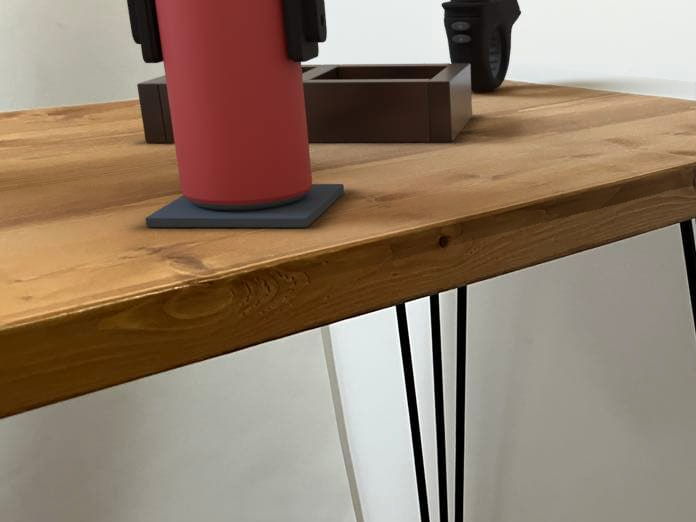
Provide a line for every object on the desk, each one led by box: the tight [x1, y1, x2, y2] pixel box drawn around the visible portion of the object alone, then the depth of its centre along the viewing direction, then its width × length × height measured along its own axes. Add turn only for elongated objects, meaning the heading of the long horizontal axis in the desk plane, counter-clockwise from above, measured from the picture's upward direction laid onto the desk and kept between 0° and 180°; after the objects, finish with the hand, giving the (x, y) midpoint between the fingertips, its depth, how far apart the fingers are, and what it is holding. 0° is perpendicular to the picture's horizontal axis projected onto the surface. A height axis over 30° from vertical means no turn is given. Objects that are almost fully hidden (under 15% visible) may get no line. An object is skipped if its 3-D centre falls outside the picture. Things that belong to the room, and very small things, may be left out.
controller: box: [440, 0, 522, 93], centre depth 99 cm, size 4×12×10 cm, turn 164°
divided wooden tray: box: [136, 62, 473, 144], centre depth 81 cm, size 22×12×4 cm, turn 86°
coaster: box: [145, 183, 345, 229], centre depth 58 cm, size 8×8×1 cm
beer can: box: [155, 0, 313, 211], centre depth 55 cm, size 7×7×12 cm
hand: (232, 56), depth 55 cm, fingers closed on beer can, 6 cm apart
